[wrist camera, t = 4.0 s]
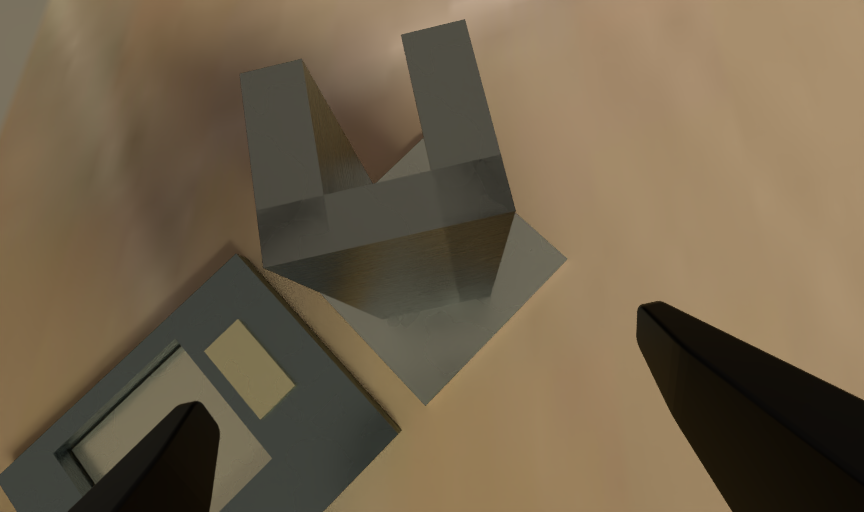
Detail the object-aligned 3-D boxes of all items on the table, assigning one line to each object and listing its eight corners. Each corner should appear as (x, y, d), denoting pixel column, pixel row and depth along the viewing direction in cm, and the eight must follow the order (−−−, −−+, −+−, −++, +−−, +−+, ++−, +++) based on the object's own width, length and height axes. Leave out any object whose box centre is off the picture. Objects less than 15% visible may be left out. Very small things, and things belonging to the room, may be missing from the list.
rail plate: (401, 430, 20) (397, 434, 19) (155, 684, 18) (134, 706, 17) (246, 258, 22) (234, 252, 21) (18, 472, 21) (-9, 479, 20)
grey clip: (490, 295, 20) (515, 210, 9) (381, 319, 20) (263, 268, 9) (468, 204, 21) (464, 19, 10) (365, 228, 22) (239, 73, 10)
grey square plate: (565, 260, 21) (567, 258, 20) (426, 404, 20) (425, 405, 20) (427, 138, 23) (427, 134, 22) (295, 264, 22) (292, 262, 21)
